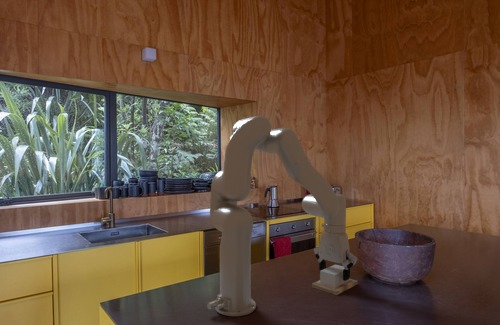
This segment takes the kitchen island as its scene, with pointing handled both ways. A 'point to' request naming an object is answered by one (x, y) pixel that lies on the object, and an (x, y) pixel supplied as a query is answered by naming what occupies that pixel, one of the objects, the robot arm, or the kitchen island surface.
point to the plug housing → (332, 276)
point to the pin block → (337, 289)
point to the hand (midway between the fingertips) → (334, 276)
